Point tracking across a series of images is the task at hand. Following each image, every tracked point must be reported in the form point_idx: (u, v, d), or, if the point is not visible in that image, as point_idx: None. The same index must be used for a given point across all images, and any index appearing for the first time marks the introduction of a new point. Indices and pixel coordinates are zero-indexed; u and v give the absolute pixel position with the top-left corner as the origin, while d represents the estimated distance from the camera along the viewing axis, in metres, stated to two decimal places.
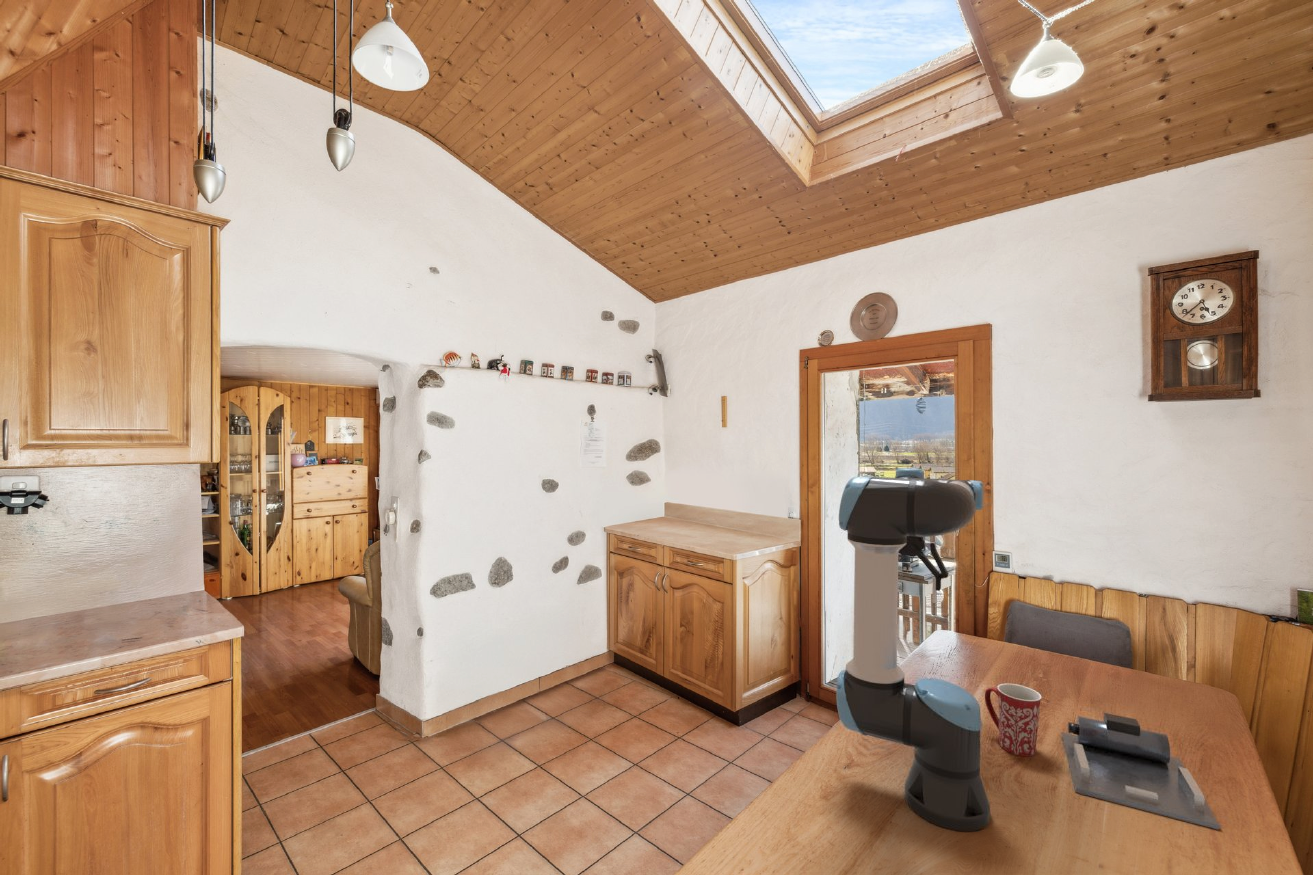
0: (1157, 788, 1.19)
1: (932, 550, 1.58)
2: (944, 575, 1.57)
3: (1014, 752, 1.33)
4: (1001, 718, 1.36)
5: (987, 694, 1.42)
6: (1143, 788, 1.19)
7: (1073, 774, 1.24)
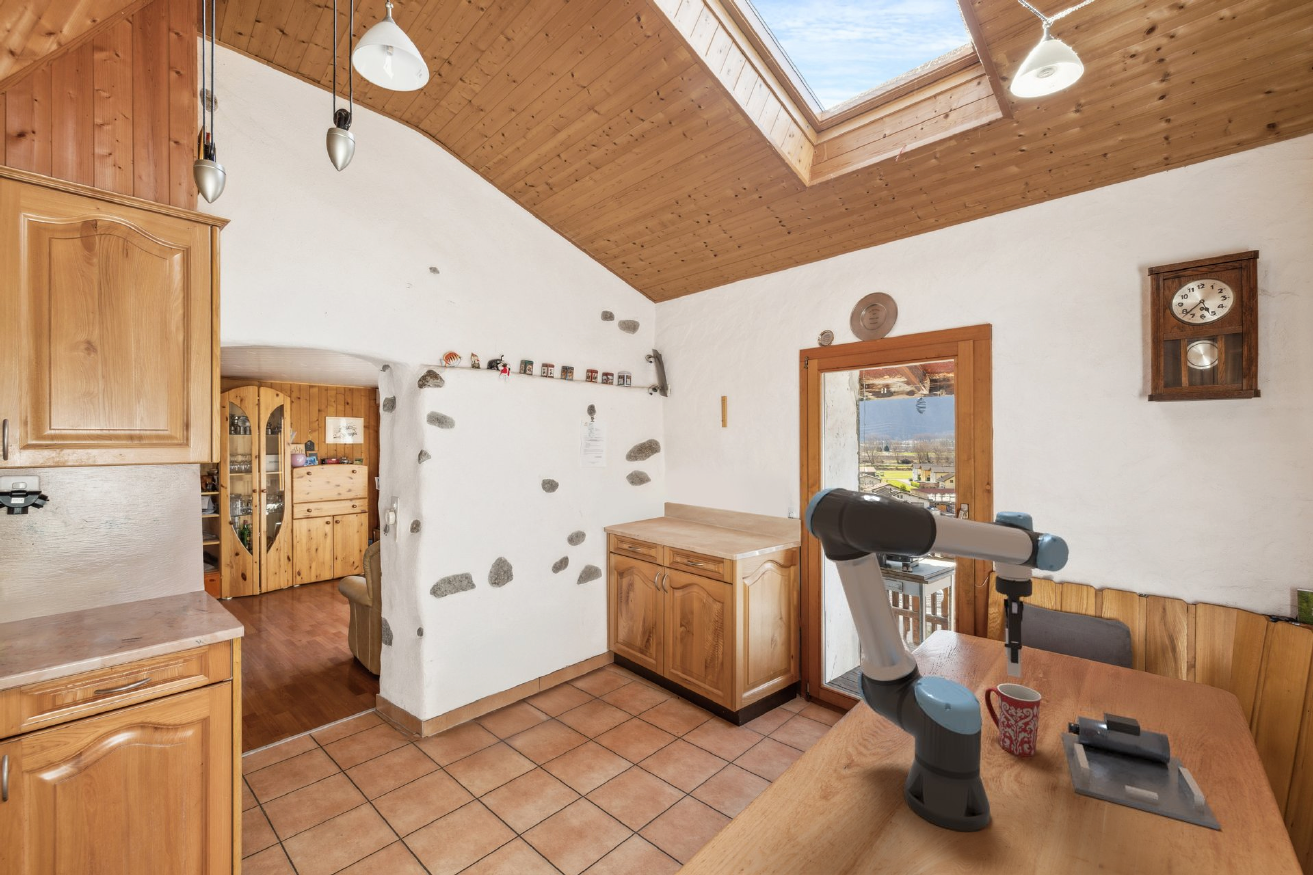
0: (1157, 788, 1.19)
1: (1008, 611, 1.33)
2: (1008, 643, 1.30)
3: (1014, 752, 1.33)
4: (1001, 718, 1.36)
5: (987, 694, 1.42)
6: (1143, 788, 1.19)
7: (1073, 774, 1.24)
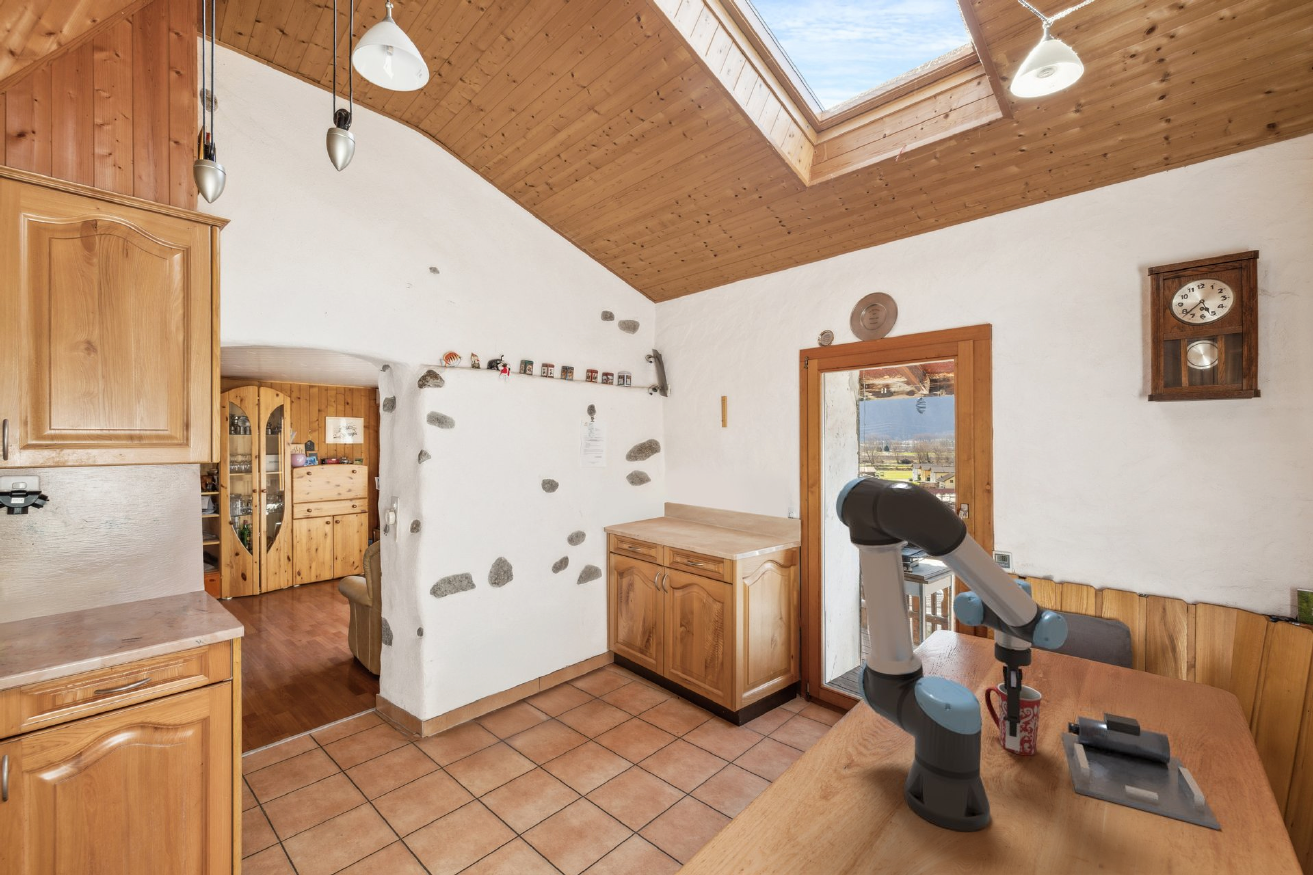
0: (1157, 788, 1.19)
1: (1007, 684, 1.33)
2: (1006, 717, 1.32)
3: (1014, 751, 1.34)
4: (1001, 717, 1.36)
5: (987, 693, 1.43)
6: (1143, 788, 1.19)
7: (1073, 774, 1.24)
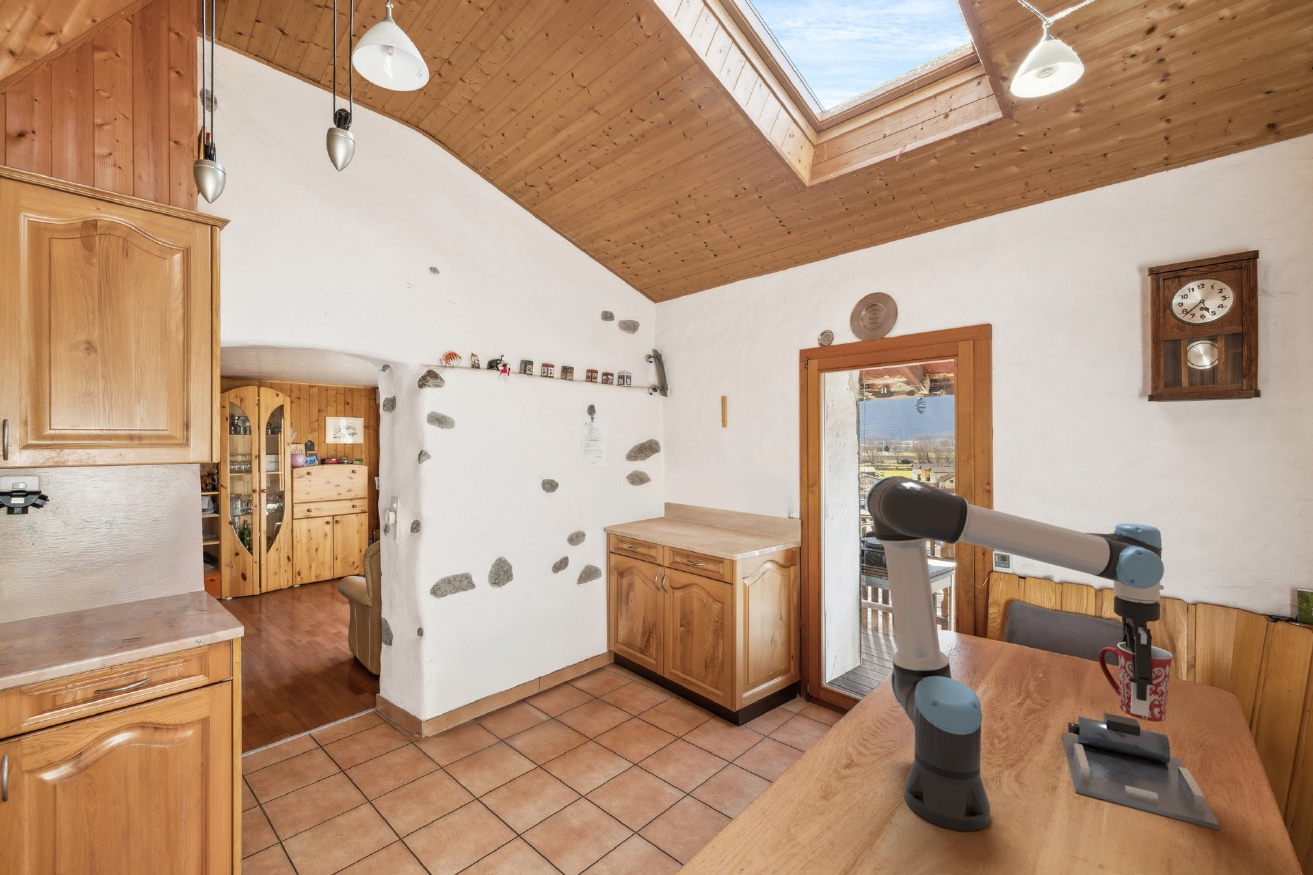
0: (1157, 788, 1.19)
1: (1135, 641, 1.17)
2: None
3: (1142, 717, 1.18)
4: (1124, 680, 1.21)
5: (1102, 655, 1.27)
6: (1143, 788, 1.19)
7: (1073, 774, 1.24)
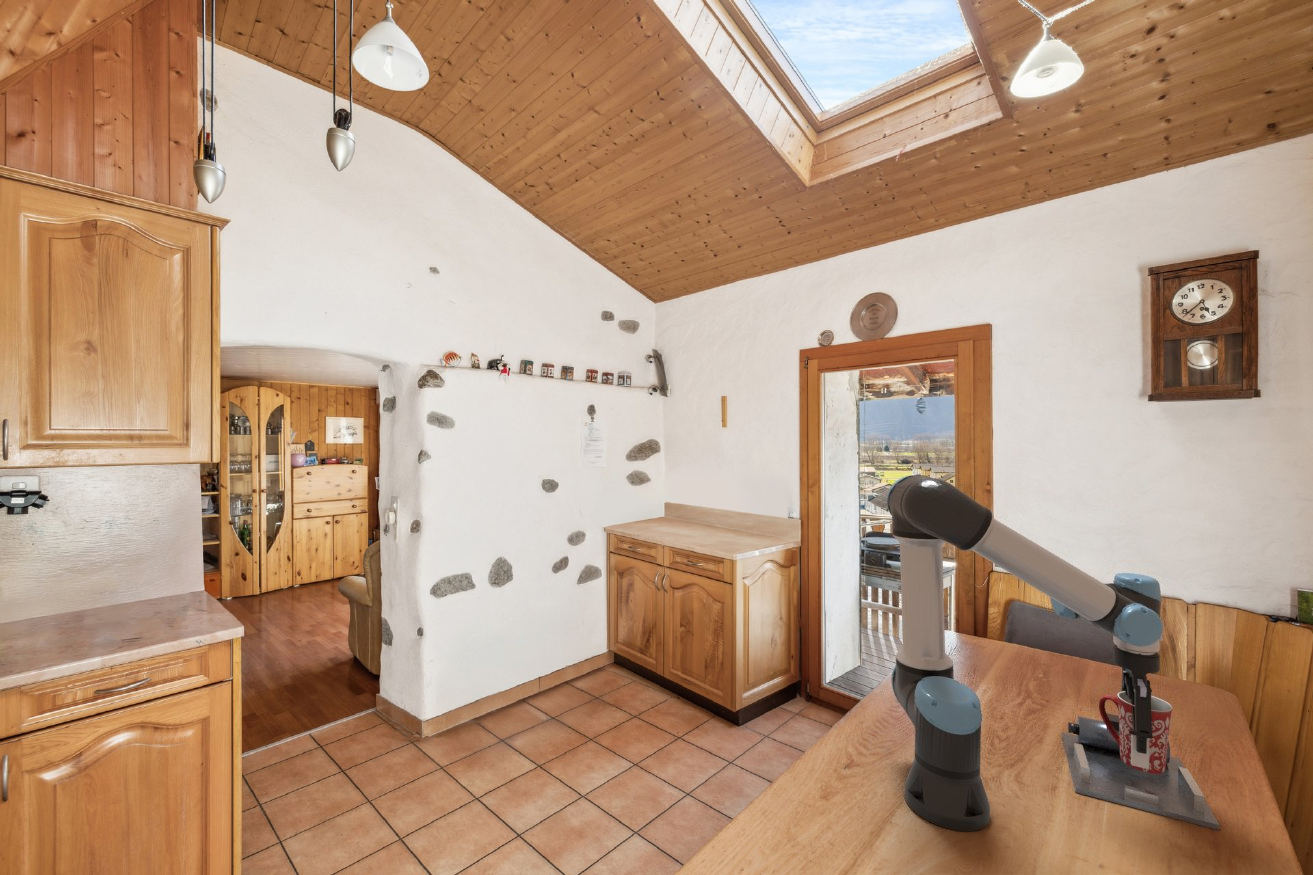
0: (1157, 788, 1.19)
1: (1134, 694, 1.17)
2: (1135, 731, 1.16)
3: (1142, 769, 1.18)
4: (1124, 731, 1.20)
5: (1102, 703, 1.27)
6: (1143, 788, 1.19)
7: (1073, 774, 1.24)
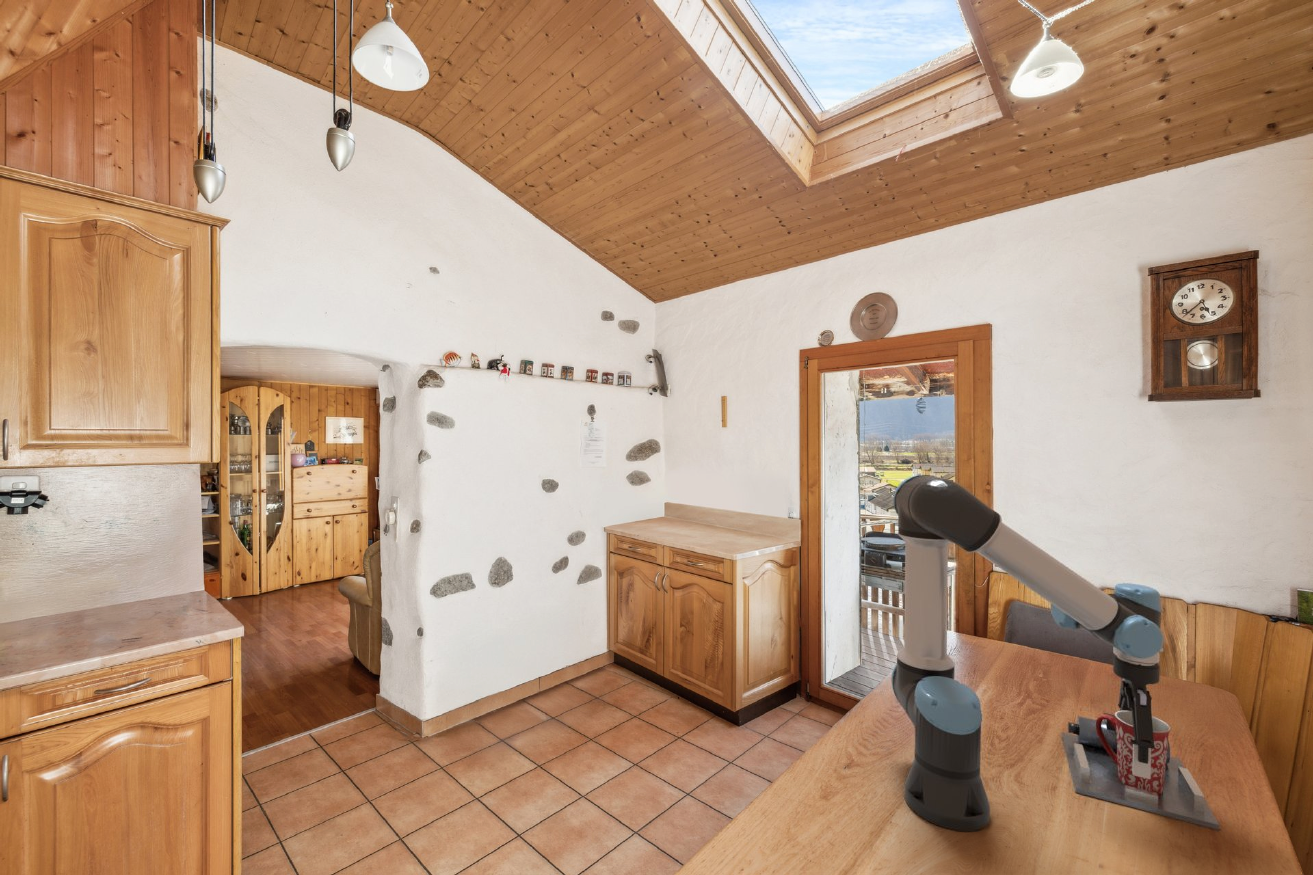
0: None
1: (1134, 702, 1.17)
2: (1136, 741, 1.14)
3: None
4: (1123, 751, 1.20)
5: (1099, 723, 1.27)
6: None
7: (1073, 774, 1.24)
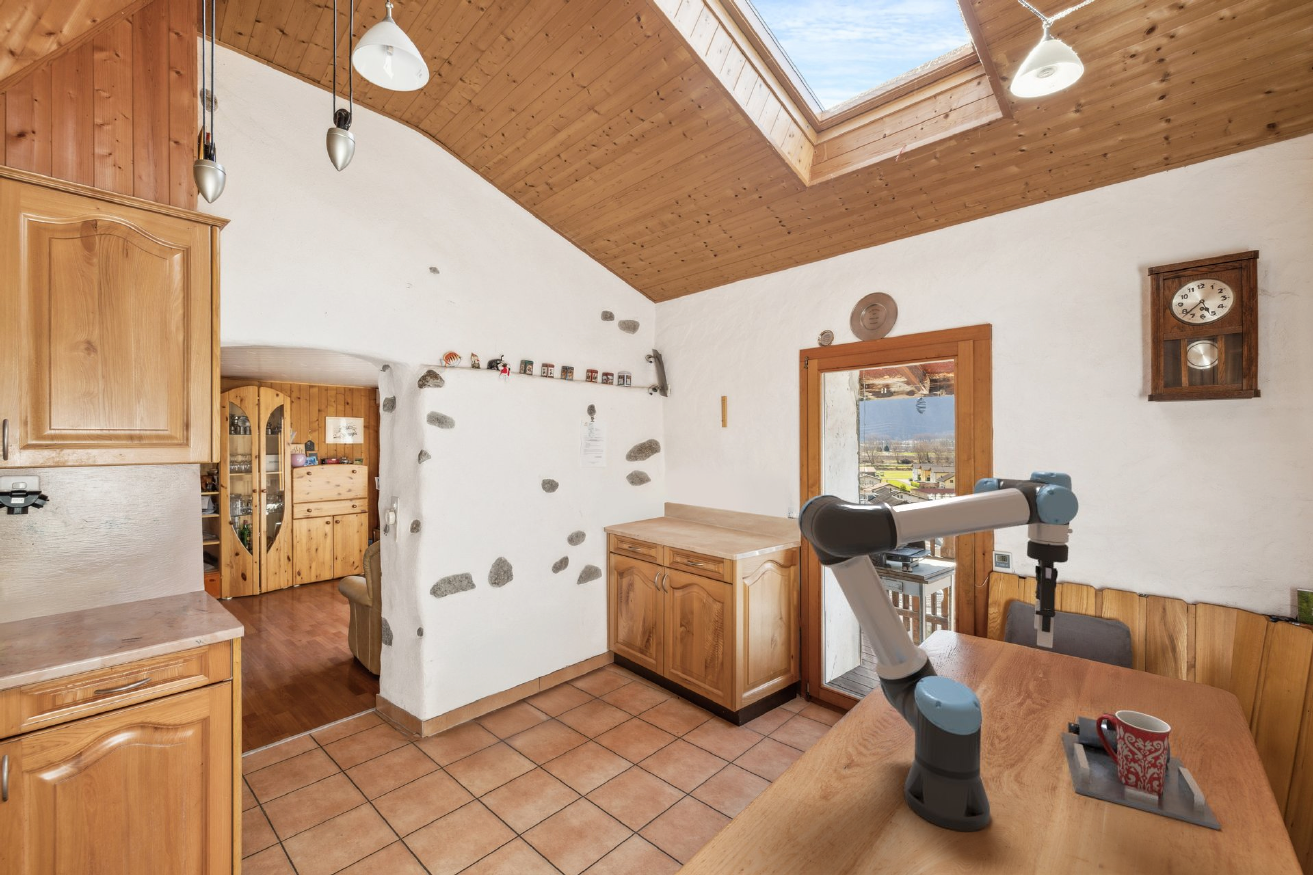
0: None
1: (1041, 577, 1.23)
2: (1040, 610, 1.20)
3: None
4: (1123, 751, 1.20)
5: (1099, 723, 1.27)
6: None
7: (1073, 774, 1.24)
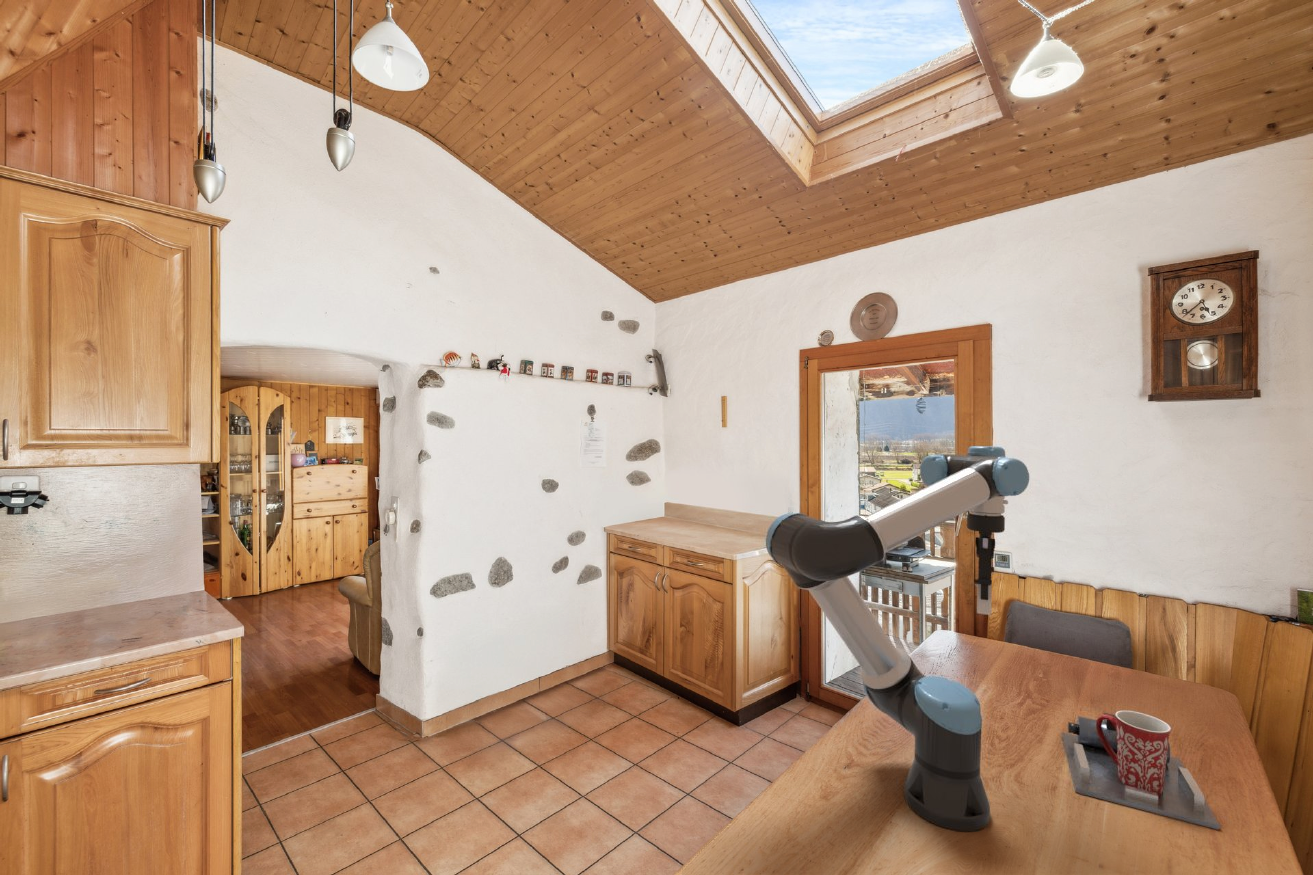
0: None
1: (978, 547, 1.27)
2: (977, 579, 1.24)
3: None
4: (1123, 751, 1.20)
5: (1099, 723, 1.27)
6: None
7: (1073, 774, 1.24)
